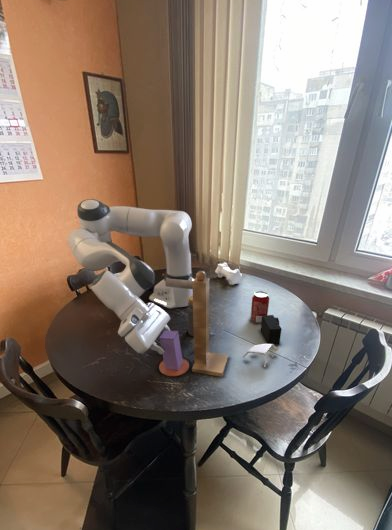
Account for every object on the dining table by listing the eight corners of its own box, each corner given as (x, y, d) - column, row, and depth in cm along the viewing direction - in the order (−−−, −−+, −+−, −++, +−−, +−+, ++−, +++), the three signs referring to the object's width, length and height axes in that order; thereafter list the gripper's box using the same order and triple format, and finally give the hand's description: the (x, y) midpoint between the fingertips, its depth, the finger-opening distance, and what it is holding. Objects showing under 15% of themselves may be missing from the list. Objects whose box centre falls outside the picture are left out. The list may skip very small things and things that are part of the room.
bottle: (192, 337, 115) (191, 302, 107) (185, 330, 120) (184, 296, 112) (205, 333, 117) (205, 299, 109) (198, 327, 122) (198, 293, 114)
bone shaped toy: (242, 283, 159) (243, 269, 154) (228, 287, 156) (229, 272, 151) (227, 274, 170) (227, 260, 166) (214, 277, 167) (214, 263, 163)
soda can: (266, 325, 122) (269, 298, 116) (249, 323, 124) (252, 297, 117) (266, 317, 128) (269, 291, 122) (250, 315, 129) (252, 290, 123)
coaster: (153, 370, 99) (152, 369, 99) (170, 354, 106) (170, 353, 106) (178, 380, 95) (178, 379, 94) (194, 363, 102) (194, 362, 102)
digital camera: (282, 344, 110) (285, 328, 106) (268, 345, 110) (270, 329, 106) (273, 330, 119) (276, 314, 115) (260, 330, 119) (262, 315, 115)
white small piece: (260, 373, 97) (261, 360, 94) (241, 361, 102) (242, 349, 100) (283, 358, 103) (285, 346, 101) (264, 347, 109) (265, 336, 106)
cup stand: (167, 367, 100) (159, 274, 83) (177, 350, 108) (171, 262, 91) (222, 376, 96) (225, 280, 78) (228, 358, 104) (232, 267, 86)
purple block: (159, 337, 93) (173, 338, 92) (164, 330, 97) (178, 331, 95) (165, 368, 99) (178, 370, 98) (170, 360, 103) (182, 361, 101)
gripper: (144, 305, 104) (172, 333, 106) (115, 336, 87) (149, 368, 90) (155, 295, 100) (184, 324, 103) (126, 325, 84) (162, 359, 86)
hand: (168, 345), depth 96 cm, fingers open, 7 cm apart
